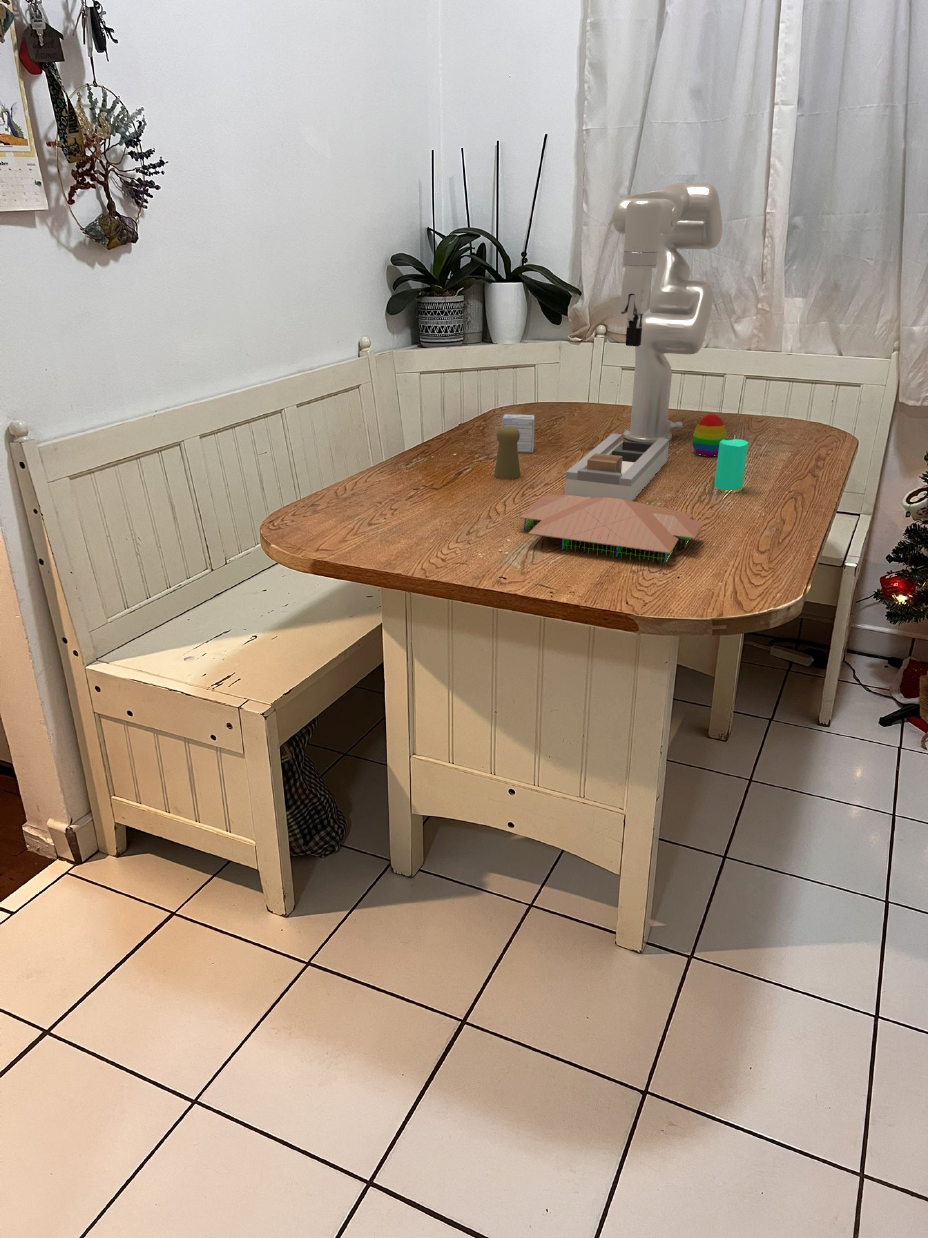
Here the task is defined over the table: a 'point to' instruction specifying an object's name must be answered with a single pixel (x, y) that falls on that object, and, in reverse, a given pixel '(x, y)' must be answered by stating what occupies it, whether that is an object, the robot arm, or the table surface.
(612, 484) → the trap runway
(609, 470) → the walnut block
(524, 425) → the medicine box
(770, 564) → the table surface
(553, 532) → the house
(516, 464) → the olive pawn
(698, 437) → the decorative egg
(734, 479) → the candle
